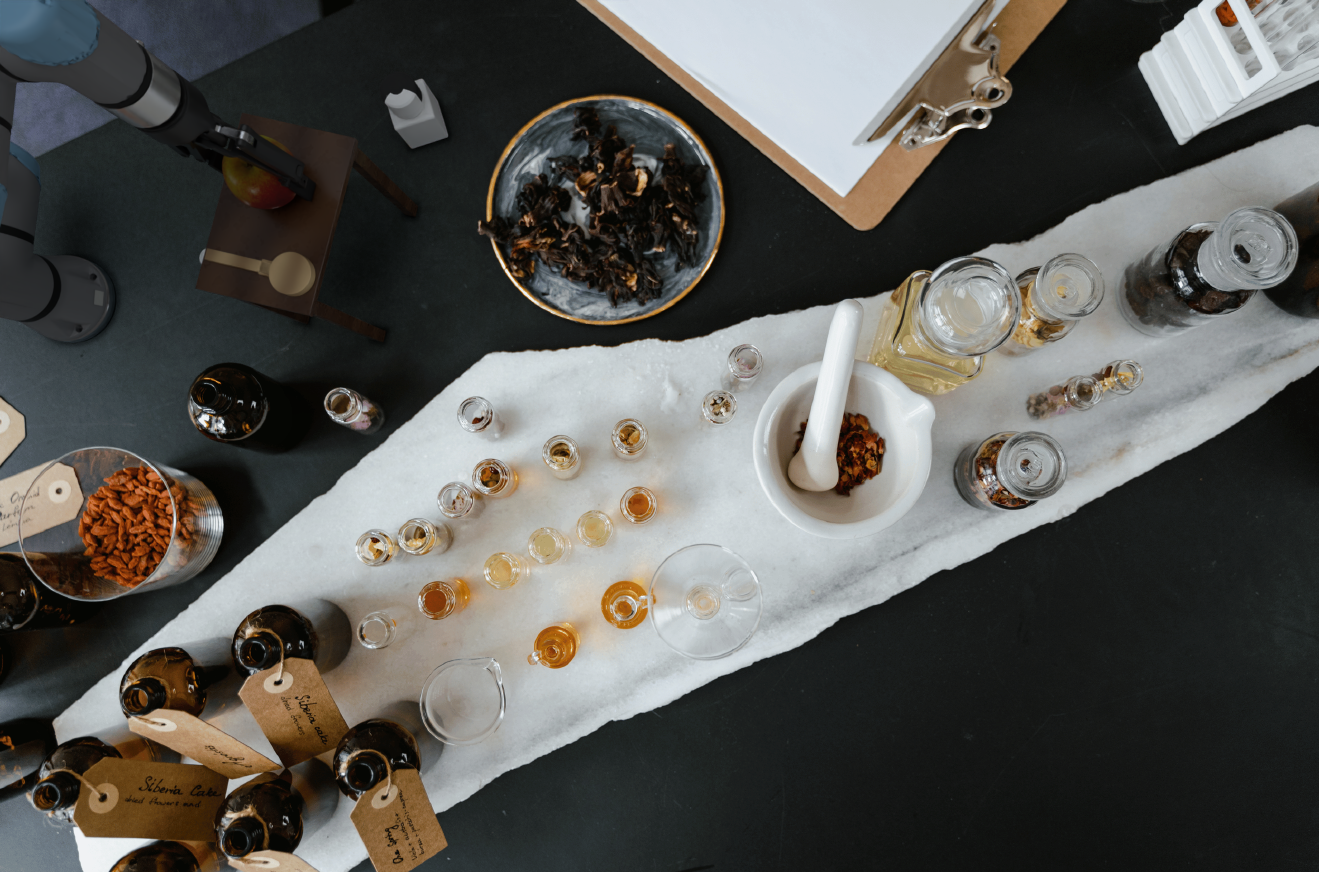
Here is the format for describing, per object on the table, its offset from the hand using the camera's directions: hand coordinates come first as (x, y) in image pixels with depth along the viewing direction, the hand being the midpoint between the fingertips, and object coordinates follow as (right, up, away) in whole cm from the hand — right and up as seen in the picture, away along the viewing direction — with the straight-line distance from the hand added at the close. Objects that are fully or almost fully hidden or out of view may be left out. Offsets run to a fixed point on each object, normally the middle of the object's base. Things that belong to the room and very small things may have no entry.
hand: (278, 184), depth 94 cm
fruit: (0, 0, 0) cm, 0 cm away
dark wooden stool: (0, -5, +24) cm, 25 cm away
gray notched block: (+12, +20, +25) cm, 34 cm away
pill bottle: (-21, -6, +25) cm, 33 cm away
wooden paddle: (-3, -12, 0) cm, 12 cm away
